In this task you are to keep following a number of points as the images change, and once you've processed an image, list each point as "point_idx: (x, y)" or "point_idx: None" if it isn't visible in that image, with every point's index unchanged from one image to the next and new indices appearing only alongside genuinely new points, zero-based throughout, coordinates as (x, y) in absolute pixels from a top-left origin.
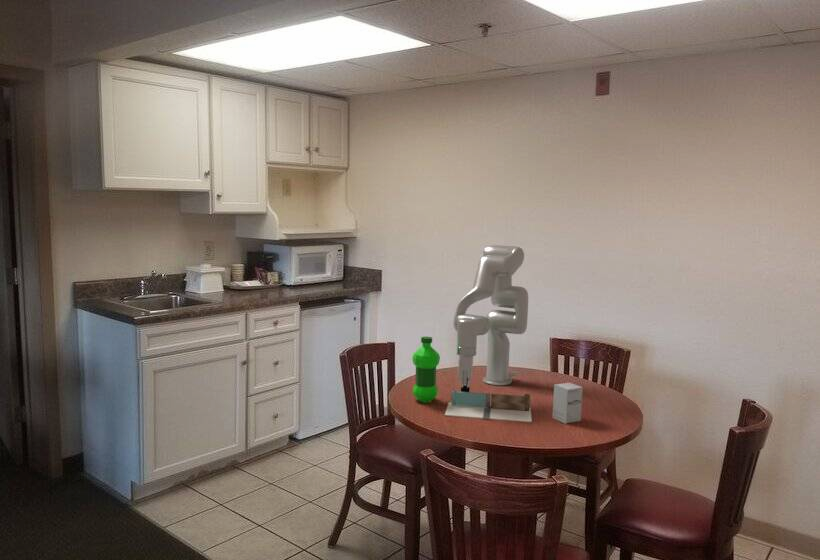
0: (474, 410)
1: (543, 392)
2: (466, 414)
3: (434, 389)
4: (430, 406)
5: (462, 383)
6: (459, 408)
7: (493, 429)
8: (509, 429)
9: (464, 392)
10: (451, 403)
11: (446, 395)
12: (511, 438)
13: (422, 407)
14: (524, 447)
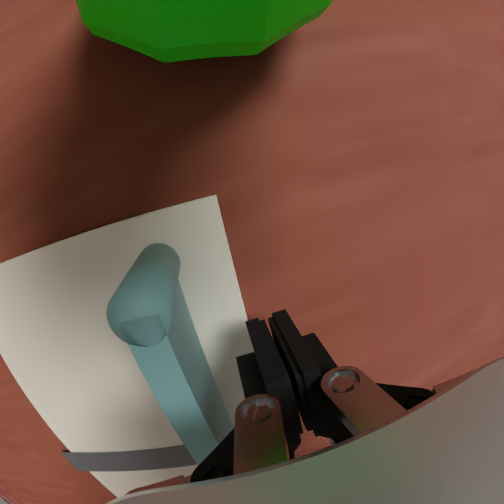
0: (134, 414)
1: None
2: (44, 390)
3: (145, 20)
4: (66, 93)
5: (200, 479)
6: (105, 330)
7: (21, 469)
8: (61, 499)
9: (181, 418)
10: (143, 249)
11: (396, 119)
12: (17, 492)
13: (31, 61)
14: (6, 500)
